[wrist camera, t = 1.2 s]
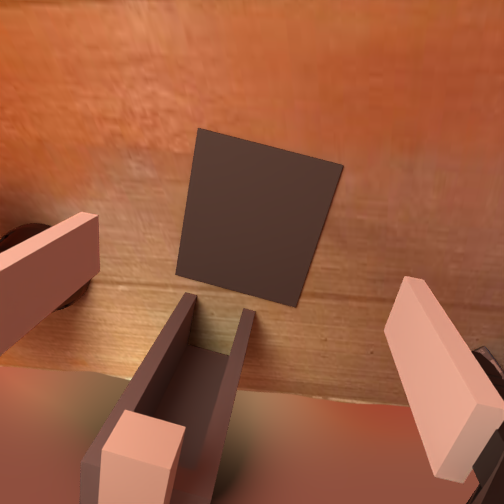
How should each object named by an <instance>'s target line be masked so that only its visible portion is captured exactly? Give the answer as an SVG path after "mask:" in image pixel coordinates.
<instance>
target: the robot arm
mask: <svg viewBox="0 0 504 504" xmlns="http://www.w3.org/2000/svg"><path fill="white" fill-rule="evenodd" d="M99 271H100V259H99V222H98V215H95V214H90V213H85V212H80V213H78V214H76V215H74V216H72V217H70V218H68V219H66V220H64V221H62V222H60V223H59V224H57V225H55V226H53V227H52V226H49V225H45V224H40V223H30V224H25V225H22V226H20V227H18V228H16V229H13V230H11V231H10V232H8V233H7V234H5V235H4V236H3V237H2V239H1V240H0V356H1V355H2V354H3V353H4V352H5V351H7V350H8V349H9V348H10V347H11V346H13V345H14V344H15V343H16V342H17V341H18V340H20V339H21V338H22V337H23V336H24V335H25V334H27V333H28V332H29V331H30V330H31V329H33V328H34V327H35V326H36V325H37V324H38V323H40V322H41V321H42V320H43V319H44V318H45V317H47V316H48V315H49V314H50V313H52V312H55V311H56V310H61V309H64V308H66V307H68V306H70V305H72V304H73V303H75V302H76V301H77V300H78V299H79V298H80V297H81V296H82V295H83V294H84V293H85V292H86V290H87V288H88V286H89V281H90V279H91V278H92V277H94V276H95V275H96V274H97V273H98V272H99ZM384 332H385V335H386V338H387V341H388V344H389V347H390V349H391V352H392V355H393V358H394V361H395V364H396V367H397V370H398V373H399V376H400V378H401V381H402V384H403V387H404V390H405V393H406V396H407V399H408V402H409V404H410V407H411V410H412V413H413V416H414V419H415V422H416V425H417V428H418V430H419V433H420V436H421V439H422V442H423V445H424V448H425V451H426V454H427V457H428V459H429V462H430V465H431V468H432V471H433V474H434V476H435V477H438V478H442V479H446V480H450V481H455V482H459V483H464V482H465V480H466V478H467V477H468V475H469V473H470V472H471V471H472V469H473V470H474V472H475V474H476V476H477V479H478V481H479V483H480V484H479V485H478V487H477V489H476V490H475V491H474V493H473V494H472V496H471V497H470V499H469V500H468V502H467V503H466V504H504V379H502V376H501V374H500V373H499V371H498V370H497V369H496V367H495V366H494V364H492V363H491V362H490V361H489V360H488V359H487V358H486V357H484V356H483V355H482V354H481V353H480V352H475V351H471V350H470V349H469V348H468V346H467V345H466V343H465V342H464V340H463V339H462V337H461V336H460V334H459V333H458V331H457V330H456V328H455V327H454V325H453V323H452V322H451V320H450V319H449V317H448V316H447V314H446V313H445V311H444V310H443V308H442V307H441V305H440V304H439V302H438V301H437V299H436V298H435V296H434V295H433V293H432V292H431V290H430V289H429V287H428V286H427V284H426V283H425V281H424V280H423V279H418V278H413V277H408V276H404V279H403V282H402V284H401V287H400V290H399V292H398V295H397V297H396V300H395V303H394V305H393V308H392V310H391V313H390V316H389V318H388V321H387V323H386V326H385V329H384Z"/></svg>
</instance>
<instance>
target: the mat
mask: <svg viewBox="0 0 504 504" xmlns="http://www.w3.org/2000/svg"><path fill="white" fill-rule="evenodd" d="M342 168H343V165H341V164H337V163H333V162H329V161H325V160H321V159H317V158H314V157H310V156H306V155H302V154H298V153H294V152H290V151H286V150H283V149H279V148H275V147H271V146H267V145H263V144H259V143H255V142H251V141H248V140H244V139H240V138H236V137H232V136H228V135H224V134H220V133H216V132H213V131H209V130H205V129H201V128H198V130H197V137H196V144H195V150H194V157H193V163H192V170H191V176H190V183H189V189H188V196H187V202H186V209H185V215H184V222H183V228H182V235H181V241H180V248H179V254H178V261H177V267H176V274H175V275H178V276H182V277H186V278H189V279H193V280H197V281H200V282H204V283H208V284H211V285H215V286H219V287H222V288H226V289H230V290H233V291H237V292H241V293H244V294H248V295H252V296H255V297H259V298H263V299H266V300H270V301H274V302H277V303H281V304H285V305H288V306H292V307H296V305H297V302H298V299H299V296H300V293H301V290H302V287H303V284H304V281H305V278H306V275H307V272H308V269H309V266H310V263H311V260H312V257H313V254H314V251H315V248H316V245H317V242H318V239H319V236H320V233H321V230H322V227H323V224H324V221H325V218H326V215H327V212H328V209H329V206H330V203H331V200H332V197H333V194H334V191H335V189H336V186H337V183H338V180H339V177H340V174H341V171H342Z"/></svg>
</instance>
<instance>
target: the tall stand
mask: <svg viewBox="0 0 504 504" xmlns="http://www.w3.org/2000/svg"><path fill="white" fill-rule="evenodd" d="M196 298H197V295H194V294H190V293H186V292H185V294H184V295H183V297H182V298H181V300H180V302H179V303H178V305H177V307H176V308H175V310H174V311H173V313H172V315H171V316H170V318H169V320H168V321H167V323H166V324H165V326H164V328H163V329H162V331H161V332H160V334H159V336H158V337H157V339H156V341H155V342H154V344H153V345H152V347H151V349H150V350H149V352H148V353H147V355H146V357H145V358H144V360H143V362H142V363H141V365H140V366H139V368H138V370H137V371H136V373H135V375H134V376H133V378H132V379H131V381H130V383H129V384H128V386H127V387H126V389H125V391H124V392H123V394H122V396H121V397H120V399H119V400H118V402H117V404H116V406H115V407H114V409H113V410H112V412H111V413H110V415H109V417H108V418H107V420H106V422H105V423H104V425H103V426H102V428H101V430H100V431H99V433H98V435H97V436H96V438H95V439H94V441H93V443H92V444H91V446H90V448H89V449H88V451H87V452H86V454H85V456H84V457H83V459H82V461H81V473H80V504H98V497H99V482H100V468H101V453H102V448H103V447H104V445H105V443H106V441H107V440H108V438H109V436H110V435H111V433H112V431H113V429H114V428H115V426H116V424H117V422H118V421H119V419H120V417H121V416H122V414H123V412H124V410H128V411H132V412H135V413H139V414H142V415H146V416H149V417H153V418H156V419H160V420H163V421H167V422H170V423H174V424H177V425H181V426H184V427H186V428H185V433H184V438H183V442H182V447H181V452H180V457H179V461H178V466H177V471H176V475H175V480H174V485H173V489H172V494H171V499H170V504H210V501H211V498H212V493H213V489H214V485H215V481H216V476H217V472H218V468H219V463H220V459H221V455H222V451H223V446H224V442H225V438H226V434H227V430H228V425H229V421H230V417H231V413H232V408H233V404H234V400H235V396H236V391H237V387H238V383H239V379H240V374H241V370H242V366H243V362H244V357H245V353H246V349H247V345H248V340H249V336H250V332H251V328H252V323H253V319H254V315H255V311H252V310H249V309H245V308H243V312H242V315H241V319H240V322H239V325H238V329H237V332H236V336H235V339H234V342H233V346H232V349H231V353H230V356H228V355H224V354H221V353H217V352H213V351H210V350H206V349H203V348H199V347H195V346H192V345H188V340H189V335H190V330H191V324H192V319H193V314H194V308H195V303H196Z"/></svg>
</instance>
